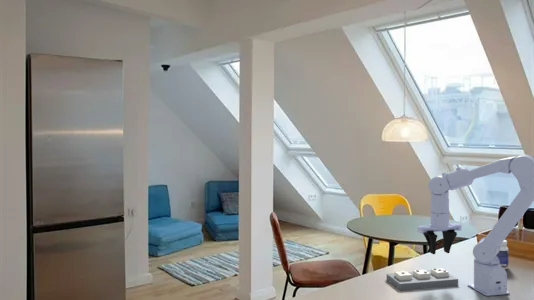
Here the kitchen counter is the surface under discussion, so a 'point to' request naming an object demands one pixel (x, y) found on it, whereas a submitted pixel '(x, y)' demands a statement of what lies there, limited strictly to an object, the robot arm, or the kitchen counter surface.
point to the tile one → (403, 275)
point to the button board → (422, 282)
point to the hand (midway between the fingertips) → (439, 252)
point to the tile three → (439, 272)
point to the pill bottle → (503, 255)
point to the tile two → (421, 274)
